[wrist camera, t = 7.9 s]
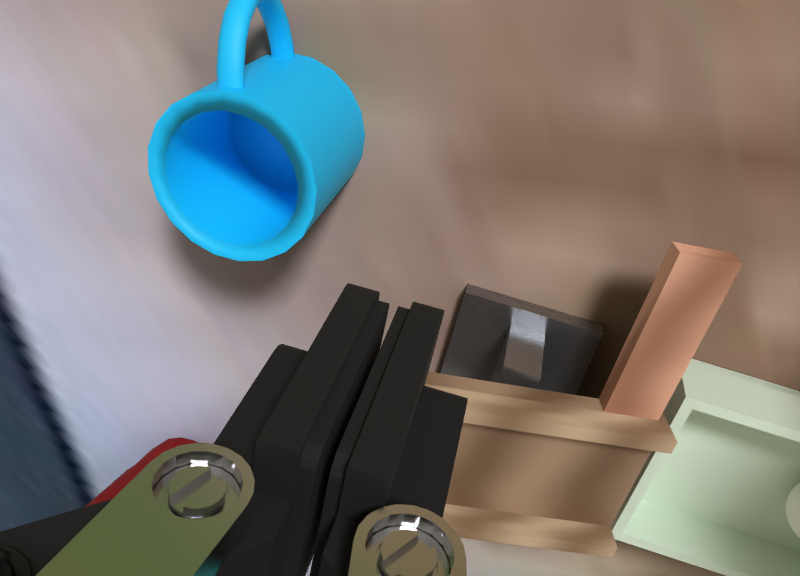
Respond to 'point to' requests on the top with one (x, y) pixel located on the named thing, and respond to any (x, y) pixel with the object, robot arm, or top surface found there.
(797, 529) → the ball
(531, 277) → the top surface
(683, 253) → the chute
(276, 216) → the mug
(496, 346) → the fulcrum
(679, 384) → the tray
